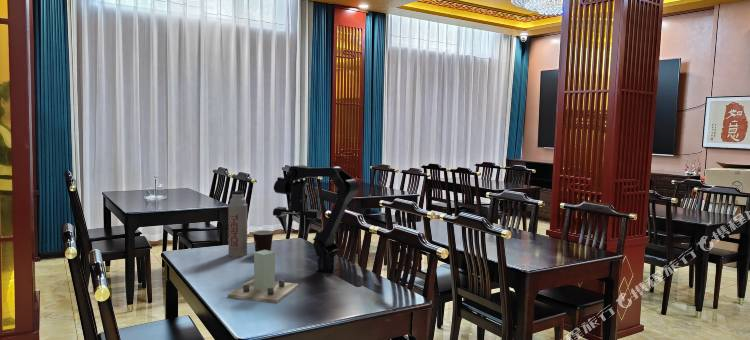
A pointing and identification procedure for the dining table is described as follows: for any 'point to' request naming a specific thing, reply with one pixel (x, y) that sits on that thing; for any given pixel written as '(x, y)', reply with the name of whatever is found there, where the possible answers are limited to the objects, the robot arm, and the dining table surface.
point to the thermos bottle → (237, 225)
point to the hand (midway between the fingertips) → (296, 233)
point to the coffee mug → (263, 240)
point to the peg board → (269, 296)
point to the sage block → (264, 270)
